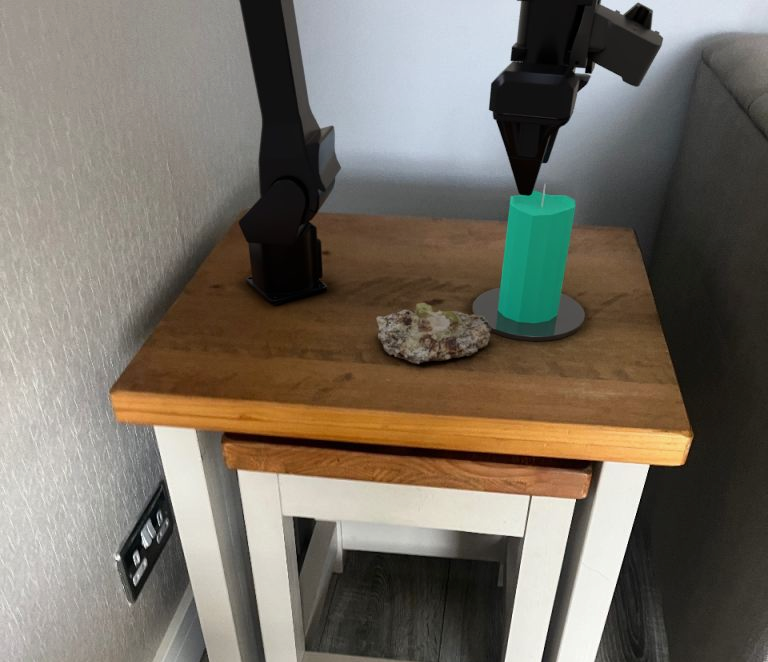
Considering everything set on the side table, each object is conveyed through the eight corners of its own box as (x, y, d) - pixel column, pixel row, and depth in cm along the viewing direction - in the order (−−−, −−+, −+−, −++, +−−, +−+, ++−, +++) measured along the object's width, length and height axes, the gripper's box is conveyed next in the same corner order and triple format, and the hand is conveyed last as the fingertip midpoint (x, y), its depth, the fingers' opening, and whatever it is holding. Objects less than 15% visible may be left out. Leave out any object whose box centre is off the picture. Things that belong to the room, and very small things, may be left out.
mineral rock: (376, 346, 67) (376, 283, 72) (374, 381, 71) (374, 319, 75) (500, 350, 68) (492, 287, 72) (491, 384, 71) (485, 322, 76)
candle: (571, 312, 76) (593, 187, 69) (526, 329, 74) (544, 200, 66) (528, 290, 80) (545, 168, 72) (484, 305, 77) (497, 181, 70)
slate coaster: (521, 352, 71) (522, 347, 71) (450, 306, 78) (450, 301, 78) (607, 322, 76) (608, 317, 76) (532, 281, 83) (533, 276, 83)
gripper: (665, -10, 51) (616, 226, 61) (674, -41, 65) (632, 157, 75) (499, -19, 54) (478, 209, 64) (540, -48, 67) (518, 145, 77)
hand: (534, 177), depth 70 cm, fingers open, 9 cm apart
